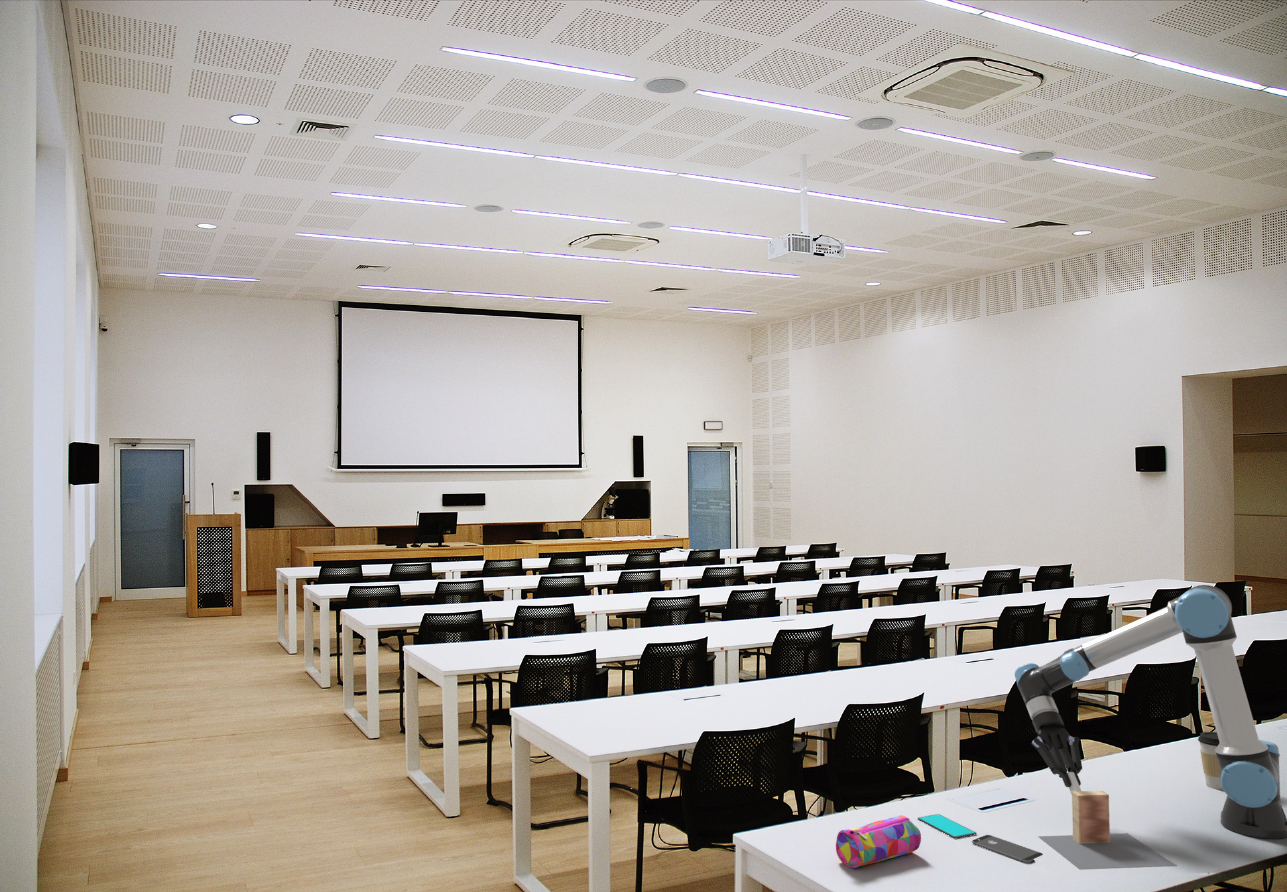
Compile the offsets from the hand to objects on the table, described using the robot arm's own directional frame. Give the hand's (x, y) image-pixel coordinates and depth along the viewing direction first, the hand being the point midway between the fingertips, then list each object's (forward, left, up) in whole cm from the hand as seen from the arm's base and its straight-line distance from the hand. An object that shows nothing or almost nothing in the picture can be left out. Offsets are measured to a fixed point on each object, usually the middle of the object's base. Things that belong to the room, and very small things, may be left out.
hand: (1078, 798), depth 240 cm
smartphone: (+32, -9, -10) cm, 35 cm away
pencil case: (+57, +10, -10) cm, 58 cm away
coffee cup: (-61, -33, -10) cm, 70 cm away
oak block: (0, +5, -9) cm, 10 cm away
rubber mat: (0, +11, -10) cm, 15 cm away
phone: (+23, +7, -10) cm, 26 cm away
